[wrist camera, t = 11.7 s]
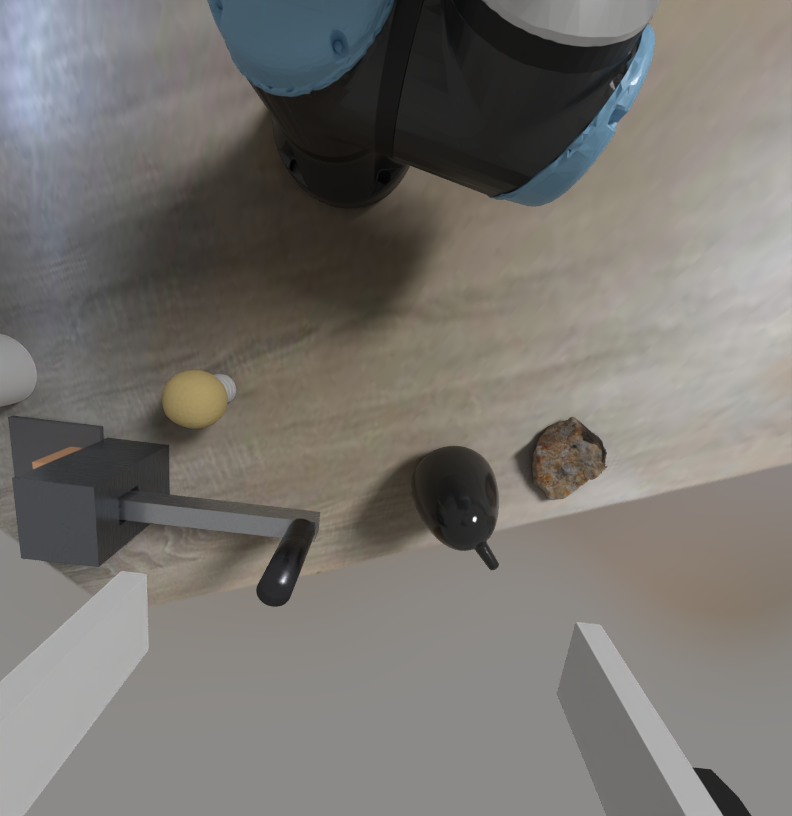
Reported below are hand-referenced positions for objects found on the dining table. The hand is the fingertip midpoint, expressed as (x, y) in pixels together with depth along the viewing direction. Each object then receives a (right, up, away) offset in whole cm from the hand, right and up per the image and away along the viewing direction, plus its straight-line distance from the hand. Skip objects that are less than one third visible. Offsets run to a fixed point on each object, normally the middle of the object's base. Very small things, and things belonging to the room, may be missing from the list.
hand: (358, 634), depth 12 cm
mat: (-43, -1, +40) cm, 59 cm away
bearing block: (-33, -2, +41) cm, 52 cm away
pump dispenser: (+8, -2, +40) cm, 41 cm away
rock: (+23, +1, +40) cm, 46 cm away
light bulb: (-21, +10, +38) cm, 44 cm away
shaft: (-22, -5, +34) cm, 41 cm away
